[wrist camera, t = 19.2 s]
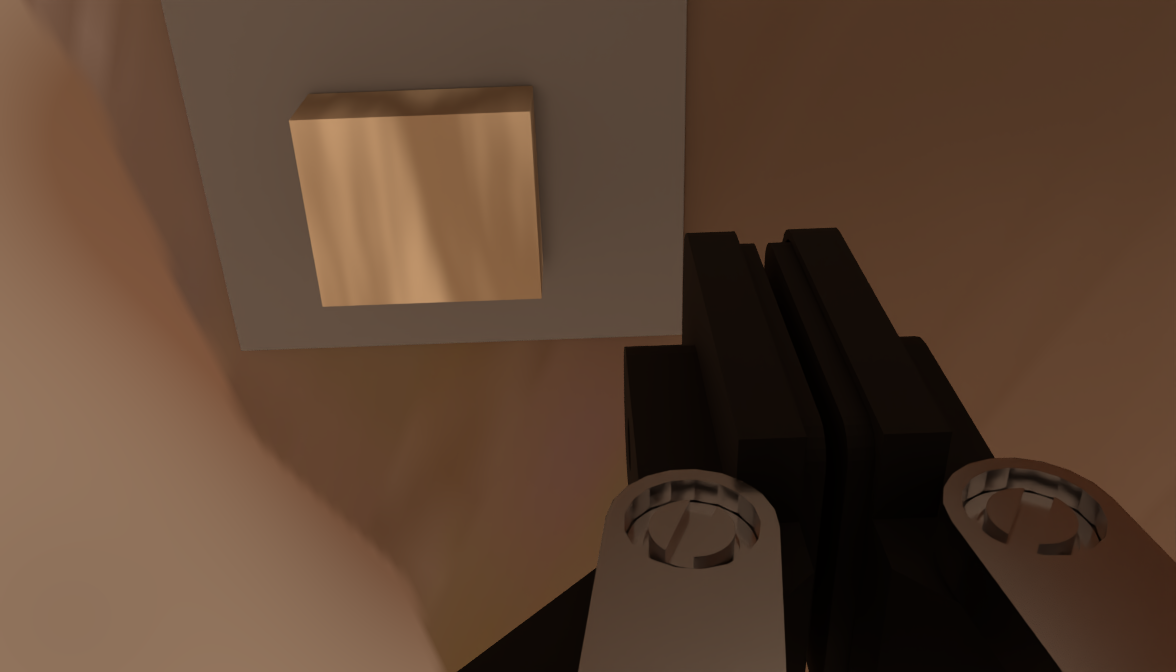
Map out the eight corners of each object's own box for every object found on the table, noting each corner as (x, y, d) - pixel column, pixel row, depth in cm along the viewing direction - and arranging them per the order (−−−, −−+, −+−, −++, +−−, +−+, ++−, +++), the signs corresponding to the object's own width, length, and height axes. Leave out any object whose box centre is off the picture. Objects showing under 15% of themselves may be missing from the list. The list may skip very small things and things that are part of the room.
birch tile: (530, 111, 34) (288, 120, 34) (541, 298, 38) (322, 306, 38) (532, 84, 37) (309, 92, 37) (543, 261, 40) (339, 268, 40)
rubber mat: (685, -25, 36) (687, -22, 35) (680, 327, 43) (681, 334, 42) (165, -7, 36) (160, -3, 35) (245, 343, 43) (241, 350, 42)
